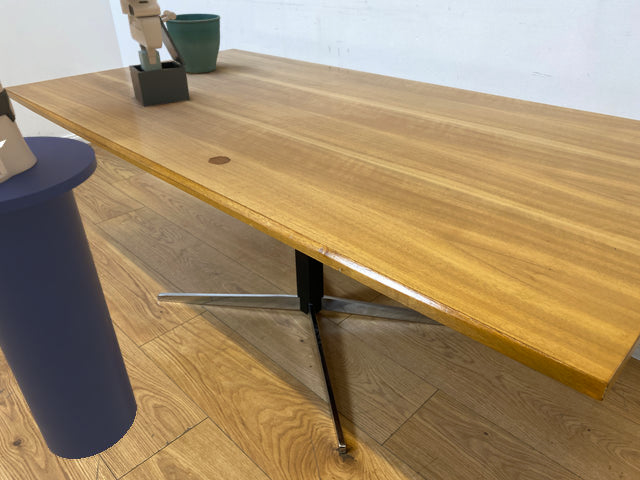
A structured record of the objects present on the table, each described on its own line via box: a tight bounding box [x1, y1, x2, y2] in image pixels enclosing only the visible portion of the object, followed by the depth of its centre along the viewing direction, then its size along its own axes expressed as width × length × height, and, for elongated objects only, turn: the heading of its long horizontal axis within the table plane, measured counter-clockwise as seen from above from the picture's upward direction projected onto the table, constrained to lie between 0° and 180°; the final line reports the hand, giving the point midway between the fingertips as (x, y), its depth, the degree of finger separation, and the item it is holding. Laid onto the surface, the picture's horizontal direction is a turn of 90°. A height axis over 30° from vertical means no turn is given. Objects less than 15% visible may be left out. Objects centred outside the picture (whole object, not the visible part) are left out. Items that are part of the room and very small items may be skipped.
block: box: [137, 49, 162, 71], centre depth 130 cm, size 4×4×4 cm
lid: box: [158, 9, 186, 66], centre depth 130 cm, size 13×11×5 cm
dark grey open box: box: [128, 60, 191, 108], centre depth 134 cm, size 13×11×9 cm
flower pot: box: [164, 13, 221, 74], centre depth 164 cm, size 18×18×17 cm
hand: (150, 61), depth 130 cm, fingers closed on block, 4 cm apart
